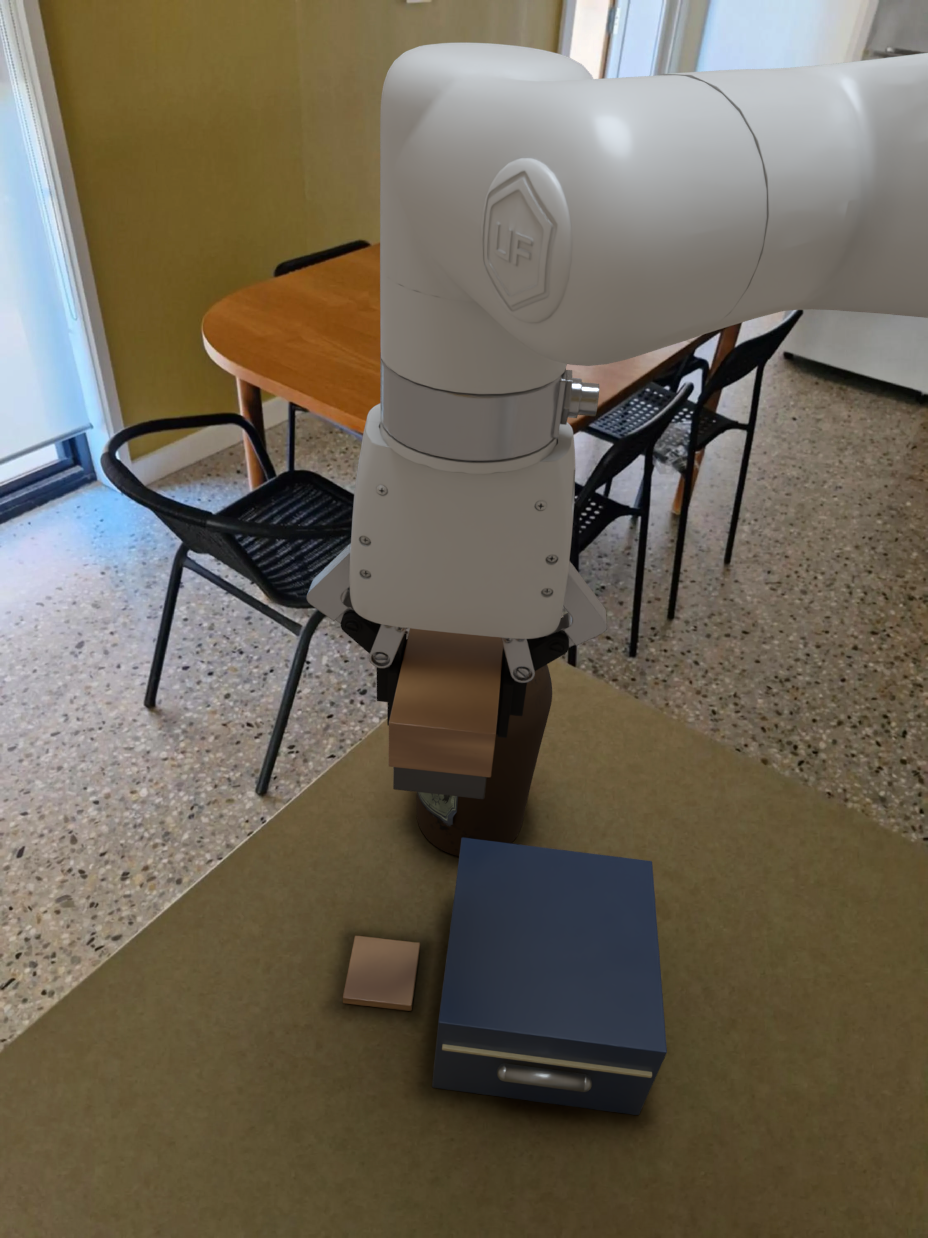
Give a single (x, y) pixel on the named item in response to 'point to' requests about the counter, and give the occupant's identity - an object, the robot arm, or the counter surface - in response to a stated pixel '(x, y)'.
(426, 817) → the olive oil
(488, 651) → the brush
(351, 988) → the coaster
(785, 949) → the counter surface
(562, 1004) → the blue drawer box
